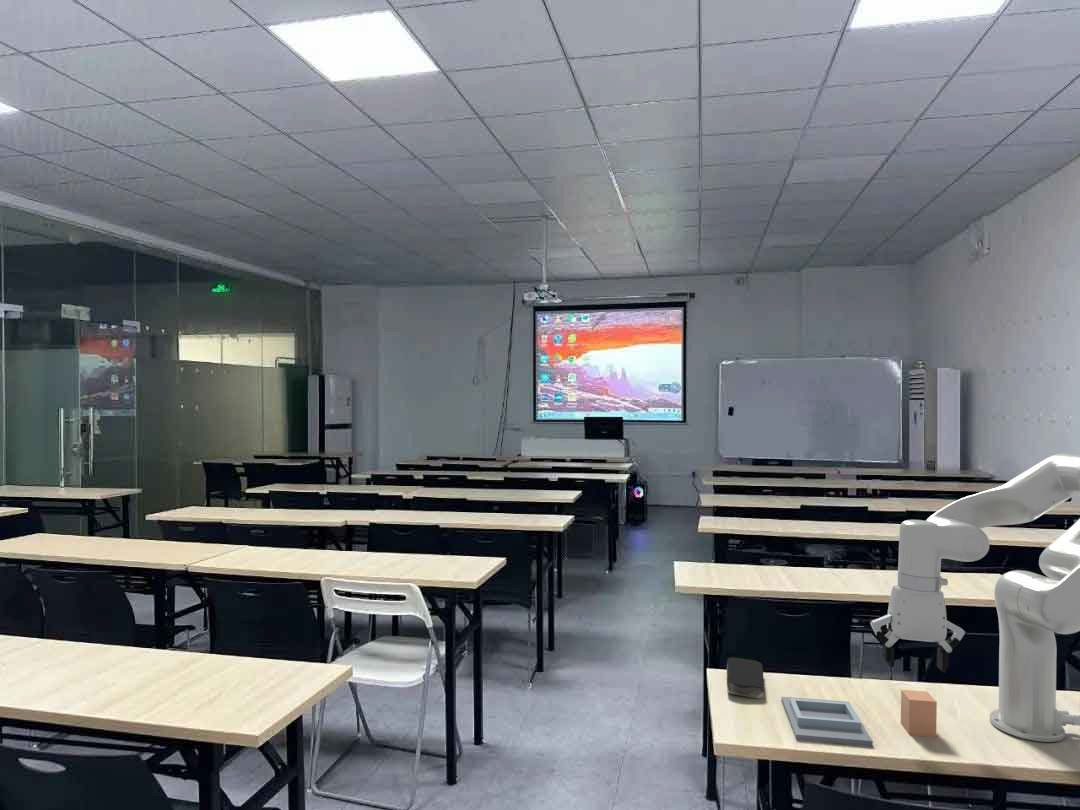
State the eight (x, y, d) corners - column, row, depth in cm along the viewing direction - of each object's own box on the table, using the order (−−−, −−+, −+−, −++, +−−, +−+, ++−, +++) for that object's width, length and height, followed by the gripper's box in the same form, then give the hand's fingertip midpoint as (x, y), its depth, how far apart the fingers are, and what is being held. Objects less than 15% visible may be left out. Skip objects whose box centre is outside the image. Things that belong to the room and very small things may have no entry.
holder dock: (848, 706, 153) (848, 694, 153) (872, 746, 135) (872, 733, 135) (781, 701, 155) (781, 689, 155) (796, 739, 138) (796, 726, 138)
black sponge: (726, 671, 173) (726, 656, 173) (762, 674, 171) (762, 659, 171) (726, 698, 157) (726, 682, 157) (766, 702, 155) (766, 686, 155)
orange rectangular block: (927, 725, 144) (927, 691, 144) (936, 737, 139) (936, 701, 139) (900, 723, 145) (901, 689, 145) (908, 734, 140) (909, 699, 140)
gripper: (957, 581, 144) (954, 665, 144) (867, 574, 147) (864, 656, 147) (973, 590, 137) (970, 679, 137) (878, 583, 140) (874, 669, 140)
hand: (915, 667), depth 142 cm, fingers open, 9 cm apart
